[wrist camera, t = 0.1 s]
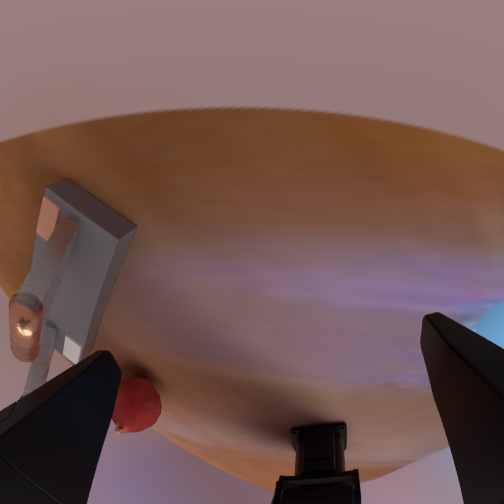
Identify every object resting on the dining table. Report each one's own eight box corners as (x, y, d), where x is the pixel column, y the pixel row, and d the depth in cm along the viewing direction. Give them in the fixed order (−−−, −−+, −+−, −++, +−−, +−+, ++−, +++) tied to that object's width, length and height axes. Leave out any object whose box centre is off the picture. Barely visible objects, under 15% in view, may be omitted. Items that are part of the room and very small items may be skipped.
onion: (178, 398, 31) (156, 453, 23) (138, 396, 32) (112, 445, 25) (157, 362, 29) (127, 420, 21) (116, 361, 30) (83, 412, 22)
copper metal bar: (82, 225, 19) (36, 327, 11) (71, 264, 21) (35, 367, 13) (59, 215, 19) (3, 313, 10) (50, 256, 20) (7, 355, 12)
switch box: (137, 226, 23) (116, 241, 20) (91, 351, 30) (77, 369, 27) (68, 178, 22) (43, 187, 19) (41, 312, 29) (25, 326, 26)
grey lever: (58, 330, 25) (38, 418, 17) (55, 351, 26) (39, 431, 18) (41, 323, 24) (16, 409, 16) (40, 345, 25) (20, 424, 17)
